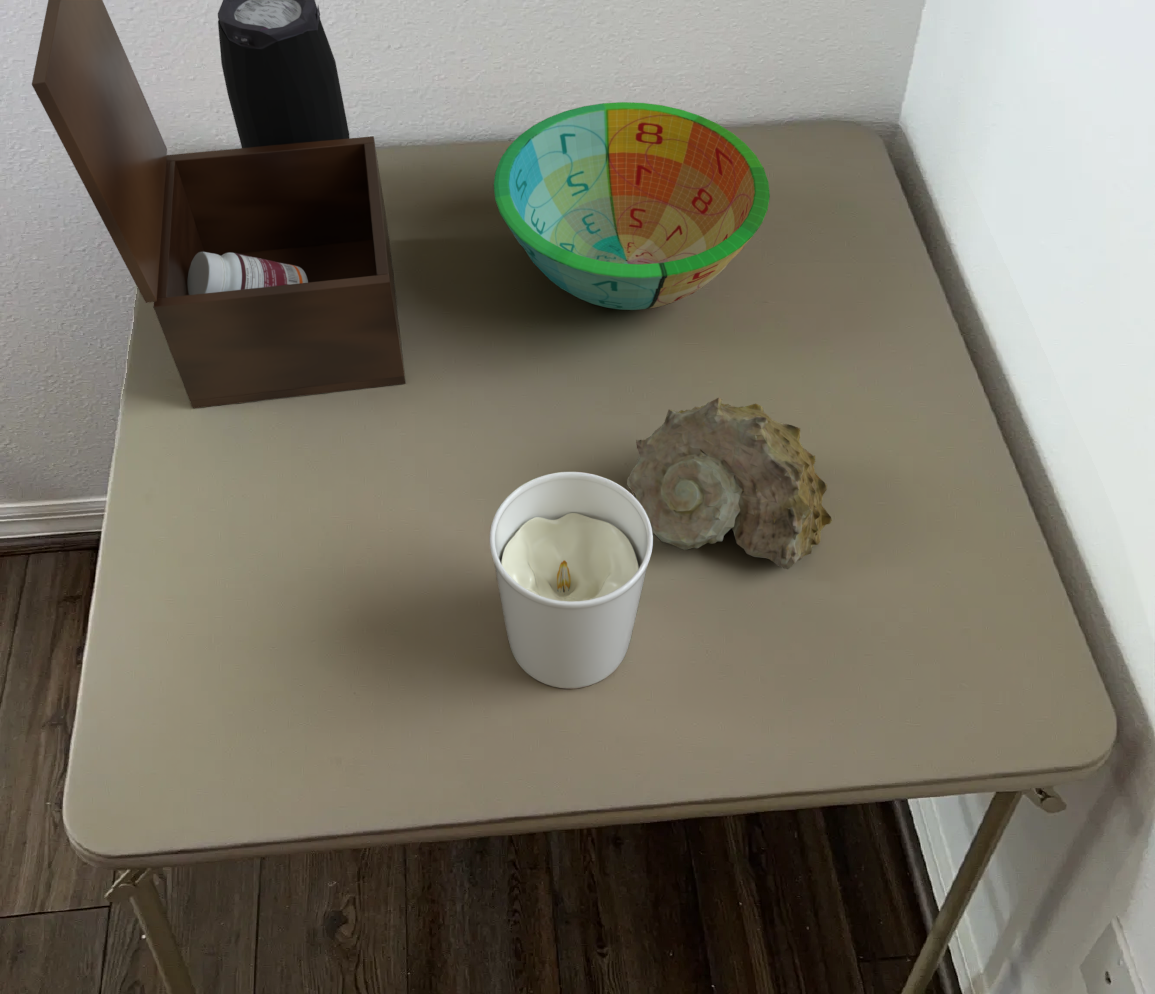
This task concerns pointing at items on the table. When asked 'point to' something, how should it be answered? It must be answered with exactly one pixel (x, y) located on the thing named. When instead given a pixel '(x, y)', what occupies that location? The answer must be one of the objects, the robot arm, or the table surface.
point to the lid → (105, 129)
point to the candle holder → (570, 575)
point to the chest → (290, 236)
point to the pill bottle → (238, 273)
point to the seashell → (731, 482)
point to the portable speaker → (280, 73)
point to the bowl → (630, 201)
